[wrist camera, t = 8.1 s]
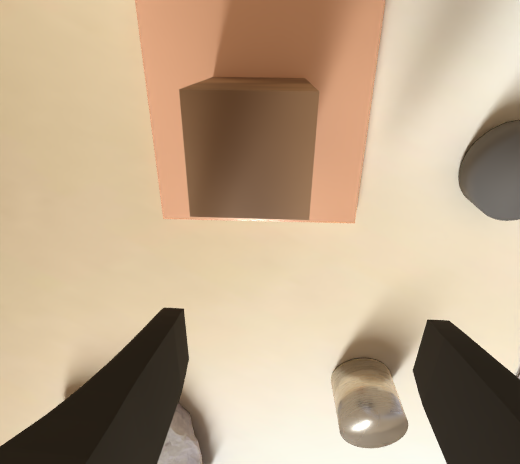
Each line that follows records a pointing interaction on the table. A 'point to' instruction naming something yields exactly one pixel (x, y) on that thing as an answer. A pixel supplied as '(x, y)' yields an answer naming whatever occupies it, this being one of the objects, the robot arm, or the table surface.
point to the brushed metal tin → (367, 404)
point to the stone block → (181, 441)
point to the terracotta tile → (268, 66)
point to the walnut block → (249, 146)
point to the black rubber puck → (494, 172)
